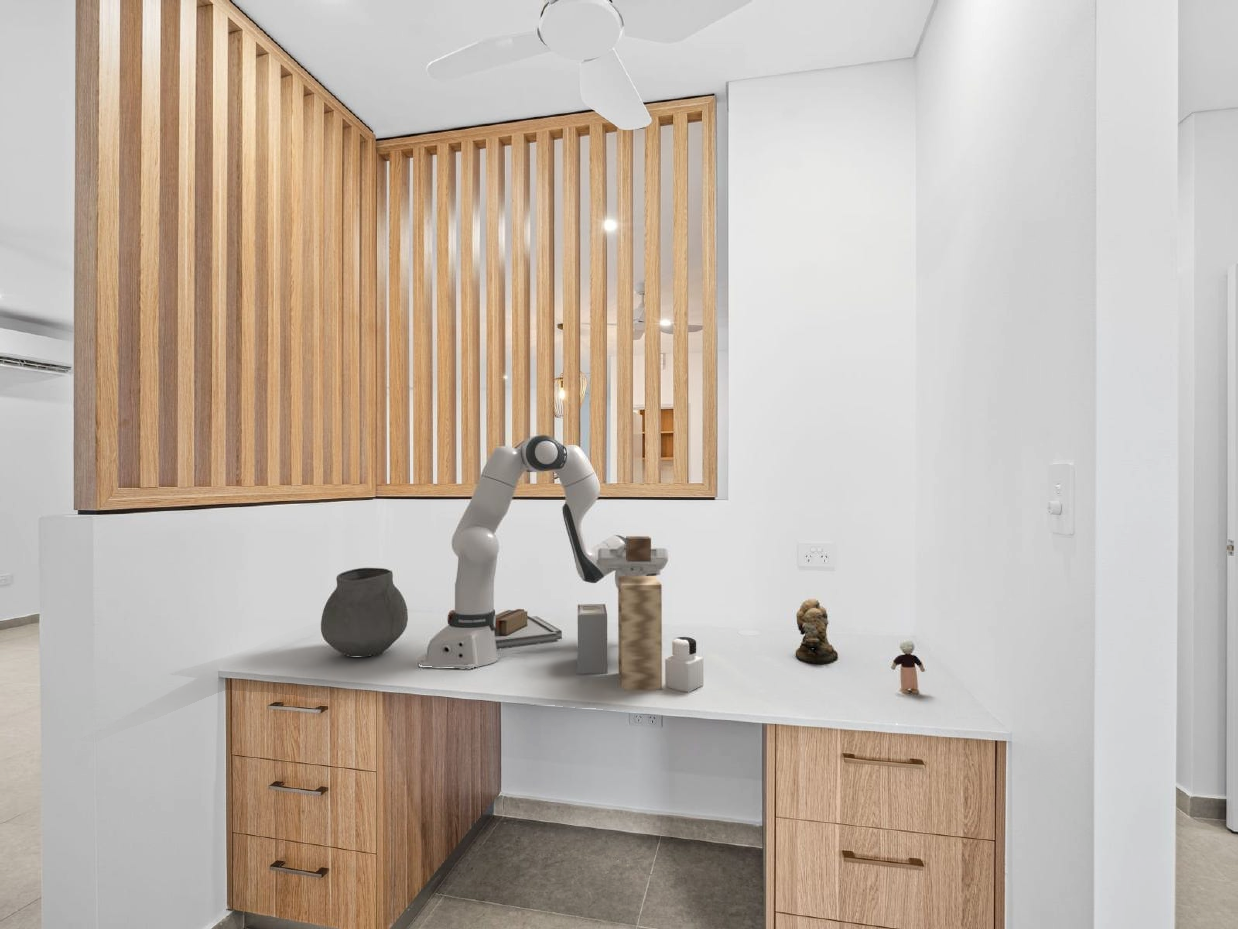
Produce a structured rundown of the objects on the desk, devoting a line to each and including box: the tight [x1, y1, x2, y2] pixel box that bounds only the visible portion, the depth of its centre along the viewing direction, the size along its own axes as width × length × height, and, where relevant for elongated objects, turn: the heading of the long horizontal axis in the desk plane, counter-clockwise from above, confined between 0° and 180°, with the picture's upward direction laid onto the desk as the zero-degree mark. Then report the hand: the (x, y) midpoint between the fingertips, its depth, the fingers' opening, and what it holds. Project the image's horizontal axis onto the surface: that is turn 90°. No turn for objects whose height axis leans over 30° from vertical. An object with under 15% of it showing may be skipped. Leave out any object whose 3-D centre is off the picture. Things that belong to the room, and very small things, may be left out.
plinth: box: [577, 603, 608, 675], centre depth 177 cm, size 8×14×16 cm, turn 4°
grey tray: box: [494, 608, 563, 650], centre depth 212 cm, size 30×30×8 cm
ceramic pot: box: [320, 567, 409, 657], centre depth 190 cm, size 24×24×25 cm
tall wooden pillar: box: [617, 576, 663, 691], centre depth 164 cm, size 10×14×26 cm
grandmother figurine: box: [890, 639, 926, 694], centre depth 155 cm, size 8×4×13 cm, turn 92°
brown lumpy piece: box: [795, 598, 839, 665], centre depth 186 cm, size 18×12×17 cm, turn 159°
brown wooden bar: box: [625, 535, 652, 562], centre depth 172 cm, size 6×18×6 cm, turn 4°
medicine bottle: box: [664, 636, 704, 693], centre depth 160 cm, size 7×7×12 cm
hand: (634, 546), depth 177 cm, fingers closed on brown wooden bar, 4 cm apart
